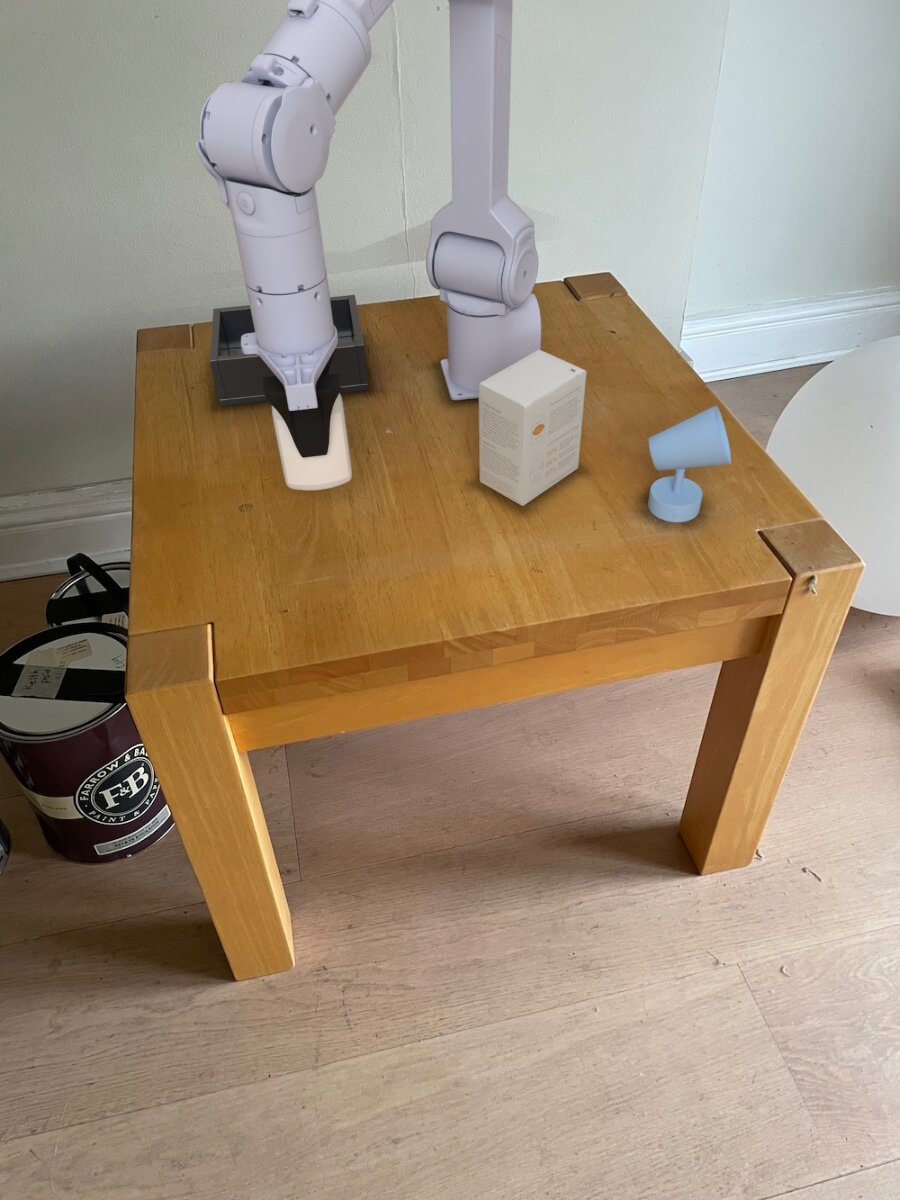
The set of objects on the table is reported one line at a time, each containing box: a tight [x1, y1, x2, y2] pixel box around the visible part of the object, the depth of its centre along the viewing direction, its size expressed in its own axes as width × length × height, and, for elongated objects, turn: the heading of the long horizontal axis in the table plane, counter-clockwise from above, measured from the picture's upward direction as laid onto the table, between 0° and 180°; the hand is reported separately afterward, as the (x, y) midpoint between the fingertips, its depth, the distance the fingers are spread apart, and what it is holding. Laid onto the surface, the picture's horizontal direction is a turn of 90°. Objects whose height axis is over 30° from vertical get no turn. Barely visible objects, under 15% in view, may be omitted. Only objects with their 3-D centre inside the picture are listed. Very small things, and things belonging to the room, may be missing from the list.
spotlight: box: [647, 405, 732, 523], centre depth 75 cm, size 5×10×7 cm
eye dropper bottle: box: [271, 393, 353, 492], centre depth 70 cm, size 4×6×12 cm
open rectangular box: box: [209, 294, 370, 407], centre depth 96 cm, size 16×12×5 cm
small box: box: [478, 350, 588, 507], centre depth 79 cm, size 8×6×10 cm
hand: (312, 439), depth 72 cm, fingers closed on eye dropper bottle, 3 cm apart
